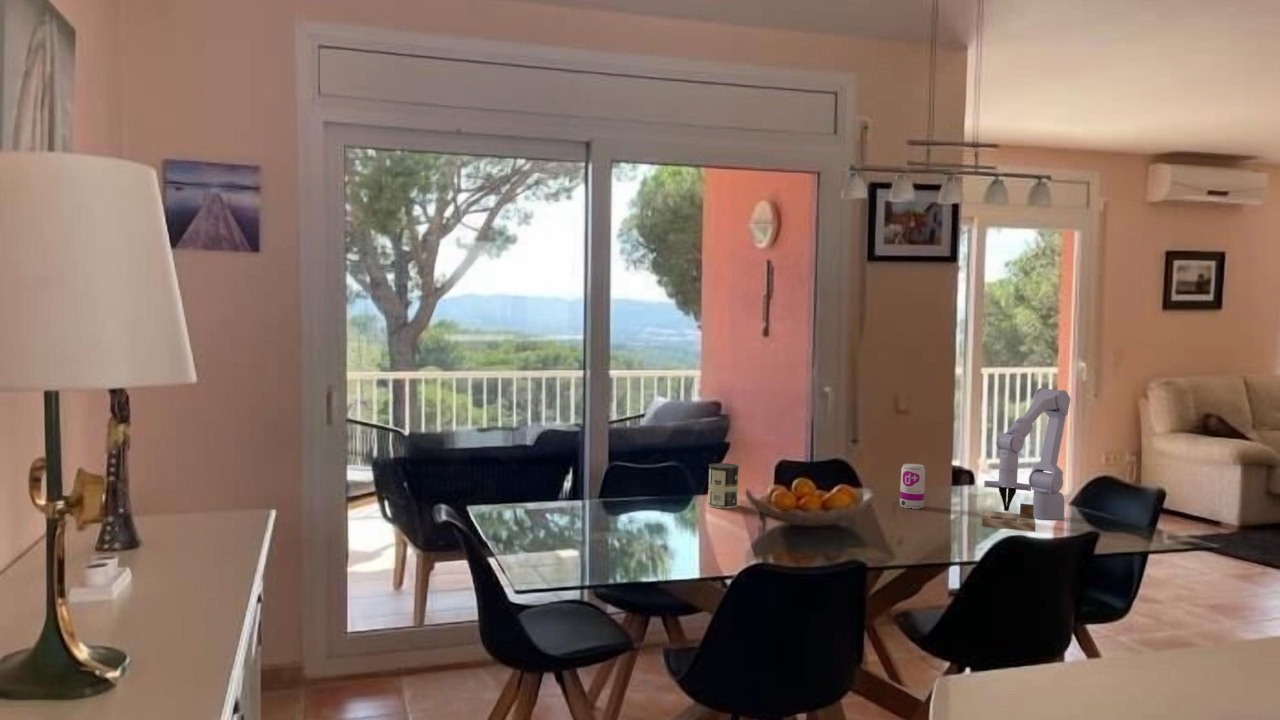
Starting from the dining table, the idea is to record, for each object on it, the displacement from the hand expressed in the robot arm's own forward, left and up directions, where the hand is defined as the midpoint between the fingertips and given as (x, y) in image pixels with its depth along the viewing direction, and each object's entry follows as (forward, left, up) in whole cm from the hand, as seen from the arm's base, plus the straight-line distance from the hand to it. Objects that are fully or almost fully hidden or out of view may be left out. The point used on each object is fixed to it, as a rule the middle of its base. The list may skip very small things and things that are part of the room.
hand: (1006, 510), depth 317 cm
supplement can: (+25, -22, -4) cm, 33 cm away
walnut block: (-6, +3, -2) cm, 6 cm away
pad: (-6, +3, -4) cm, 7 cm away
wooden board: (0, +3, -4) cm, 5 cm away
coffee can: (+93, -17, -4) cm, 94 cm away
